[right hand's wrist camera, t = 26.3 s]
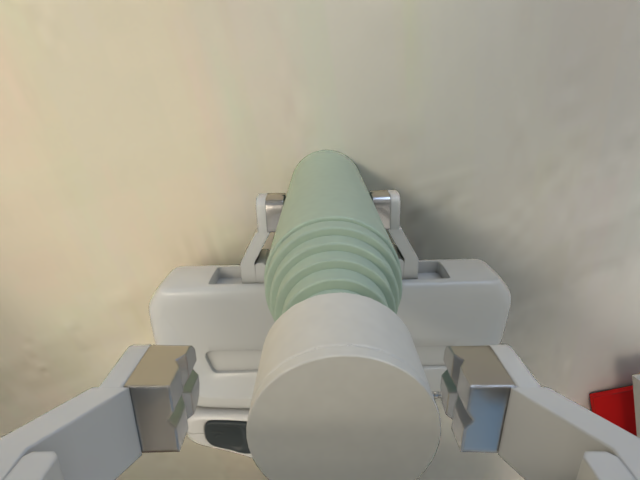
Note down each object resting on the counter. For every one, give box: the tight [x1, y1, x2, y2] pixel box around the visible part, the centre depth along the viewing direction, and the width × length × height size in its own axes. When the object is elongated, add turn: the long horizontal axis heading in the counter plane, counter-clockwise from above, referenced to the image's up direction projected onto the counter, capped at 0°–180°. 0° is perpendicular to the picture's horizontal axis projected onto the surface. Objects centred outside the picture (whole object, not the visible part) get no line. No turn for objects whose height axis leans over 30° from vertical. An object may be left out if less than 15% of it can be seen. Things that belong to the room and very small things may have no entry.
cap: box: [246, 292, 441, 480], centre depth 9 cm, size 4×4×2 cm
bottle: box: [264, 150, 402, 322], centre depth 18 cm, size 5×5×20 cm
